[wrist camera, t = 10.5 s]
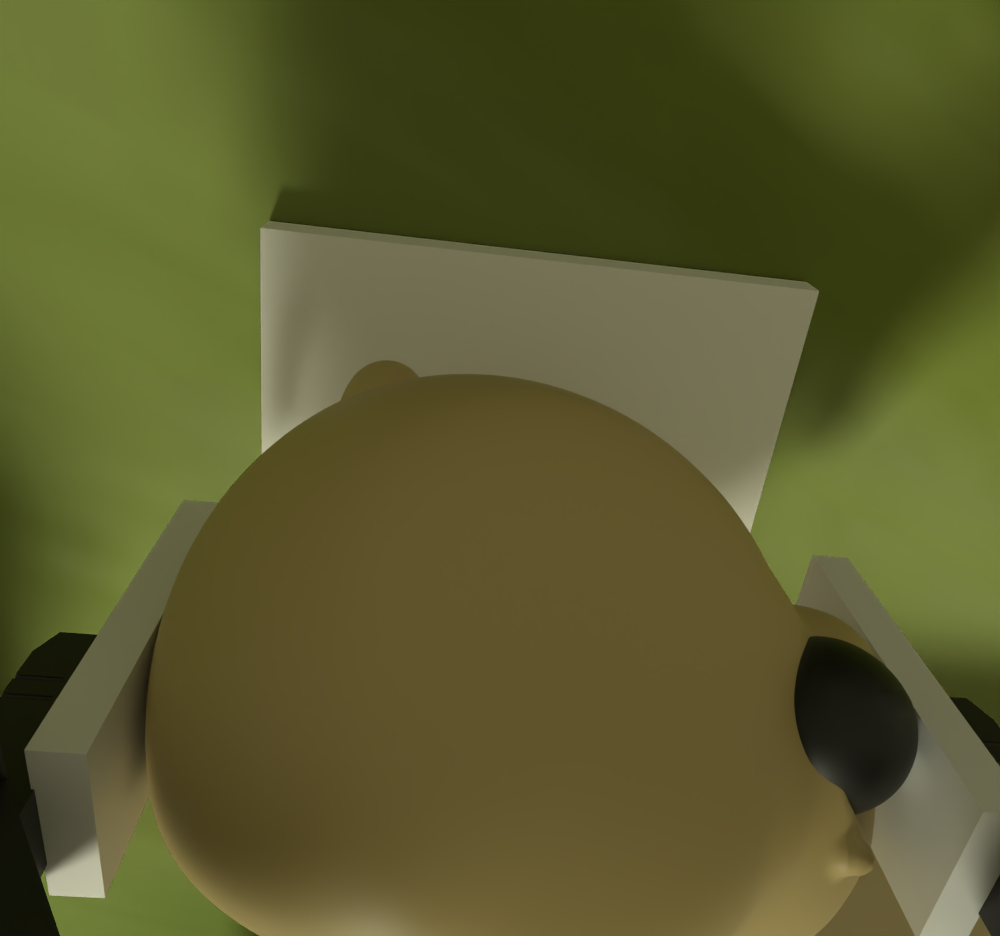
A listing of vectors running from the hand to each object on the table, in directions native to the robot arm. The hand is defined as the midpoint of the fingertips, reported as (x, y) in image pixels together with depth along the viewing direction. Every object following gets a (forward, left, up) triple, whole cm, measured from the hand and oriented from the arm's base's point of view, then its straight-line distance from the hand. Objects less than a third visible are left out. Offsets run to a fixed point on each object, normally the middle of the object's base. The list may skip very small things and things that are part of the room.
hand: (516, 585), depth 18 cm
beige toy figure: (0, 0, -2) cm, 2 cm away
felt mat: (0, 0, -4) cm, 4 cm away
